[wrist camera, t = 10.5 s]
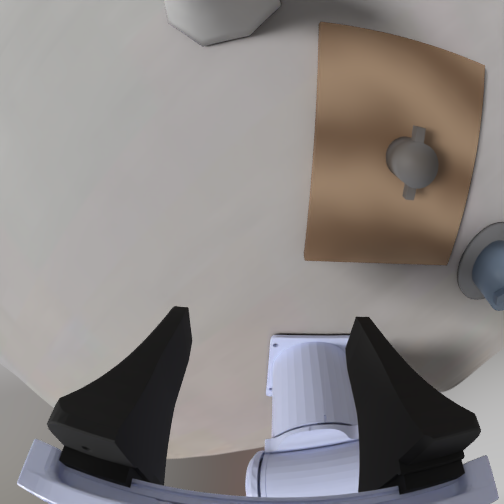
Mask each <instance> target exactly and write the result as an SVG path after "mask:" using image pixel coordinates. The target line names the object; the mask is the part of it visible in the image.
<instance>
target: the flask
mask: <svg viewBox="0 0 504 504" xmlns="http://www.w3.org/2000/svg"><path fill="white" fill-rule="evenodd" d="M163 1H164V5H165V10H166V14H167V18H168V23H169V24H170V25H172V26H173V27H175V28H176V29H178V30H179V31H181V32H182V33H184V34H185V35H187V36H188V37H190V38H191V39H193V40H194V41H195V42H197V43H198V44H200V45H201V46H202V47H203V46H207V45H211V44H215V43H219V42H223V41H227V40H232V39H236V38H241V37H246V36H250V35H251V34H252V33H253V32H254V31H255V30H256V29H257V28H258V27H259V26H260V25H261V24H262V23H263V22H264V21H265V20H266V19H267V18H268V17H269V16H270V15H271V14H273V13H274V12H275V11H276V10H277V9H278V8H279V7H280V6H281V3H280V0H163Z"/></svg>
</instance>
